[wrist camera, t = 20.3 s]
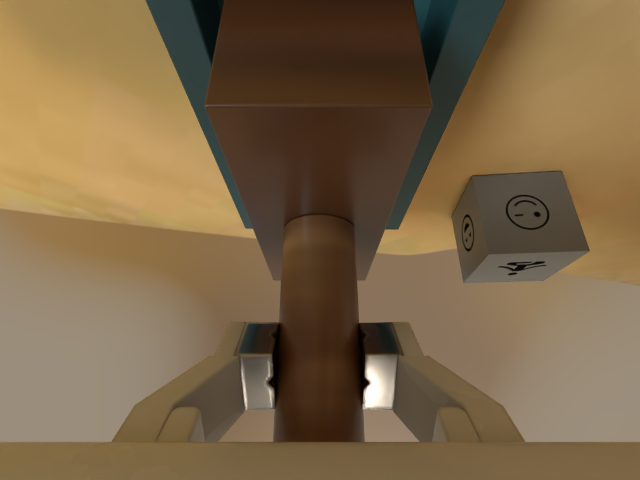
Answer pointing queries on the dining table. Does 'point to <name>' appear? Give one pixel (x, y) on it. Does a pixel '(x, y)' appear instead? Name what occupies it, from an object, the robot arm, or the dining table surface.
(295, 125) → the mallet
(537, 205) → the dice cube
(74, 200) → the dining table surface
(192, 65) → the stand
